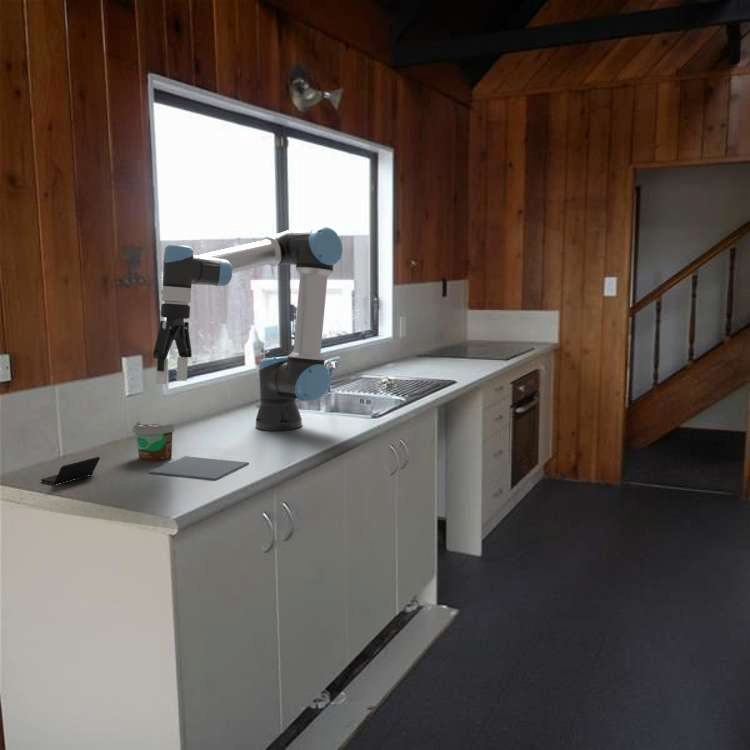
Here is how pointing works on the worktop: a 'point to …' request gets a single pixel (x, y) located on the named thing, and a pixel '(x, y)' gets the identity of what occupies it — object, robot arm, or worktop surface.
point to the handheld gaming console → (73, 471)
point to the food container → (154, 441)
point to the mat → (199, 468)
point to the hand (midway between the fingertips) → (171, 382)
